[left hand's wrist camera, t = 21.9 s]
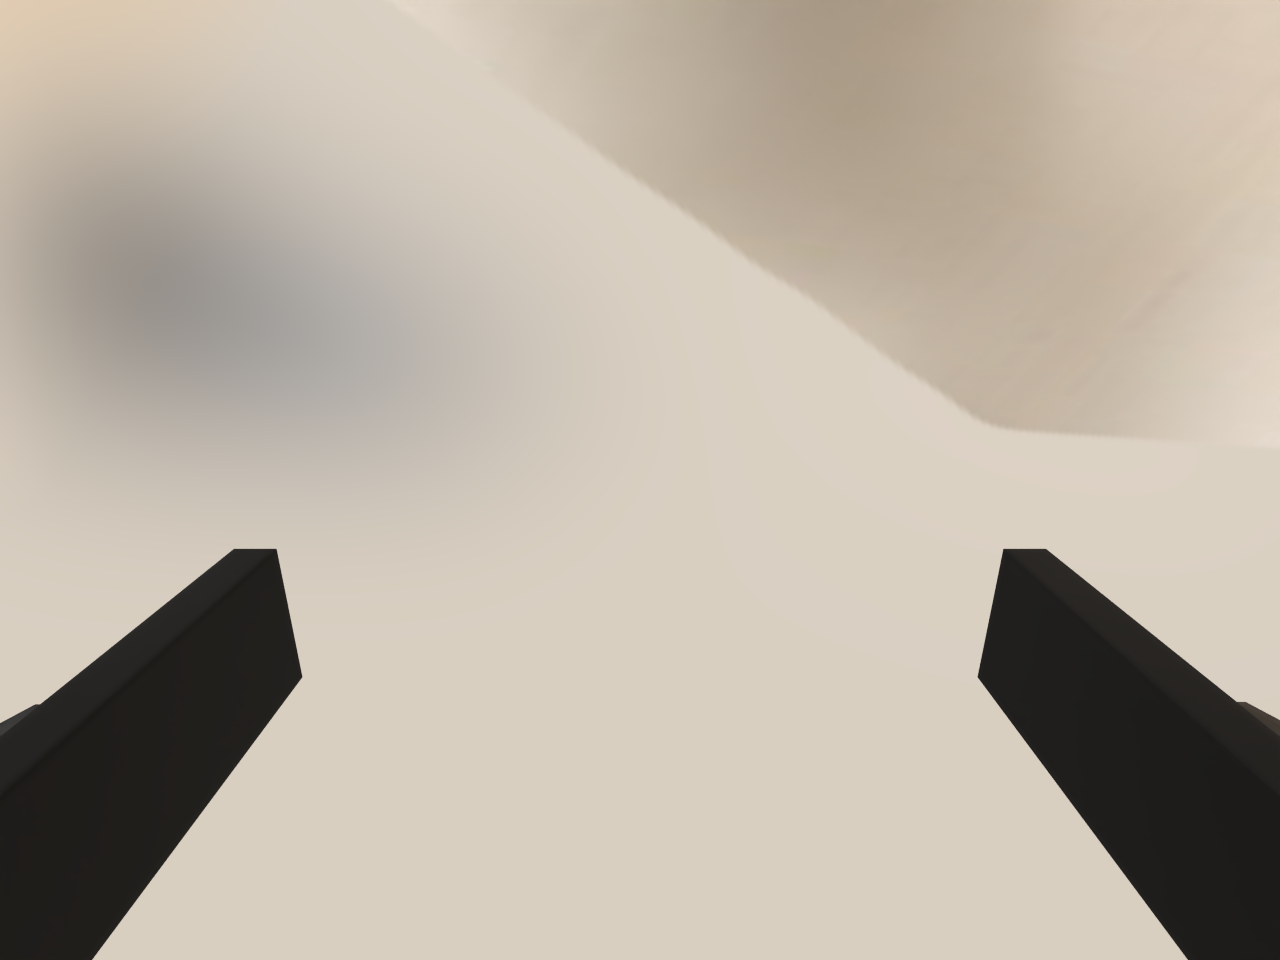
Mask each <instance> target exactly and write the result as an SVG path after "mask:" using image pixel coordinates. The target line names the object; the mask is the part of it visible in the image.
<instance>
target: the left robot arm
mask: <svg viewBox="0 0 1280 960" xmlns="http://www.w3.org/2000/svg"><path fill="white" fill-rule="evenodd" d="M301 678H302V673H301V668H300V663H299V658H298V653H297V648H296V643H295V638H294V633H293V628H292V624H291V619H290V613H289V609H288V604H287V599H286V594H285V589H284V584H283V579H282V574H281V569H280V564H279V559H278V554H277V549H233V550H232V551H231V552H230V553H228V554H227V555H226V556H225V557H223V558H222V559H221V560H220V561H218V562H217V563H216V564H215V565H213V566H212V567H211V568H210V569H208V570H207V571H206V572H205V573H204V574H202V575H201V576H200V577H198V578H197V579H196V580H195V581H194V582H192V583H191V584H190V585H189V586H187V587H186V588H185V589H184V590H182V591H181V592H180V593H179V594H177V595H176V596H175V597H174V598H172V599H171V600H170V601H169V602H167V603H166V604H165V605H164V606H162V607H161V608H160V609H159V610H157V611H156V612H155V613H154V614H152V615H151V616H150V617H149V618H147V619H146V620H145V621H144V622H142V623H141V624H140V625H139V626H137V627H136V628H135V629H134V630H133V631H131V632H130V633H129V634H127V635H126V636H125V637H124V638H122V639H121V640H120V641H119V642H118V643H116V644H115V645H114V646H113V647H111V648H110V649H109V650H108V651H106V652H105V653H104V654H103V655H101V656H100V657H99V658H98V659H96V660H95V661H94V662H93V663H91V664H90V665H89V666H88V667H86V668H85V669H84V670H83V671H81V672H80V673H79V674H78V675H76V676H75V677H74V678H73V679H71V680H70V681H69V682H68V683H66V684H65V685H64V686H63V687H61V688H60V689H59V690H58V691H56V692H55V693H54V694H53V695H52V696H50V697H49V698H48V699H46V700H45V701H44V702H43V703H41V704H40V705H33V706H32V707H30V708H28V709H26V710H24V711H22V712H20V713H18V714H17V715H15V716H13V717H11V718H9V719H7V720H5V721H4V722H2V723H0V960H92V959H93V958H94V956H95V955H96V954H97V952H98V951H99V950H100V948H101V947H102V946H103V944H104V943H105V942H106V940H107V939H108V938H109V936H110V935H111V934H112V932H113V931H114V930H115V928H116V927H117V926H118V924H119V923H120V921H121V920H122V919H123V917H124V916H125V915H126V913H127V912H128V911H129V909H130V908H131V907H132V905H133V904H134V903H135V901H136V900H137V899H138V897H139V896H140V895H141V893H142V892H143V890H144V889H145V888H146V887H147V885H148V884H149V883H150V881H151V880H152V878H153V877H154V876H155V874H156V873H157V872H158V870H159V869H160V868H161V866H162V865H163V864H164V862H165V861H166V860H167V858H168V857H169V856H170V854H171V853H172V852H173V850H174V849H175V848H176V846H177V845H178V843H179V842H180V841H181V839H182V838H183V837H184V835H185V834H186V833H187V831H188V830H189V829H190V827H191V826H192V825H193V823H194V822H195V821H196V819H197V818H198V817H199V815H200V814H201V813H202V811H203V810H204V809H205V807H206V806H207V804H208V803H209V802H210V801H211V799H212V798H213V796H214V795H215V794H216V792H217V791H218V790H219V788H220V787H221V786H222V784H223V783H224V782H225V780H226V779H227V778H228V776H229V775H230V774H231V772H232V771H233V770H234V768H235V767H236V766H237V764H238V763H239V762H240V760H241V759H242V758H243V756H244V755H245V753H246V752H247V751H248V749H249V748H250V747H251V745H252V744H253V743H254V741H255V740H256V739H257V737H258V736H259V735H260V733H261V732H262V731H263V729H264V728H265V727H266V725H267V724H268V723H269V721H270V720H271V719H272V717H273V716H274V714H275V713H276V712H277V710H278V709H279V708H280V706H281V705H282V704H283V702H284V701H285V700H286V698H287V697H288V696H289V694H290V693H291V692H292V690H293V689H294V688H295V686H296V685H297V684H298V682H299V681H300V679H301ZM978 678H979V680H980V681H981V682H982V684H983V685H984V686H985V688H986V689H987V690H988V692H989V693H990V694H991V696H992V697H993V698H994V700H995V701H996V702H997V704H998V705H999V706H1000V708H1001V709H1002V710H1003V712H1004V713H1005V714H1006V716H1007V717H1008V719H1009V720H1010V721H1011V723H1012V724H1013V725H1014V726H1015V728H1016V729H1017V731H1018V732H1019V733H1020V735H1021V736H1022V737H1023V739H1024V740H1025V741H1026V743H1027V744H1028V745H1029V747H1030V748H1031V749H1032V751H1033V752H1034V753H1035V755H1036V756H1037V757H1038V759H1039V760H1040V761H1041V763H1042V764H1043V765H1044V767H1045V768H1046V770H1047V771H1048V772H1049V774H1050V775H1051V776H1052V778H1053V779H1054V780H1055V782H1056V783H1057V784H1058V786H1059V787H1060V788H1061V790H1062V791H1063V792H1064V794H1065V795H1066V796H1067V798H1068V799H1069V800H1070V802H1071V803H1072V805H1073V806H1074V807H1075V809H1076V810H1077V811H1078V813H1079V814H1080V815H1081V817H1082V818H1083V819H1084V821H1085V822H1086V823H1087V825H1088V826H1089V827H1090V829H1091V830H1092V831H1093V833H1094V834H1095V835H1096V837H1097V838H1098V839H1099V841H1100V842H1101V844H1102V845H1103V846H1104V848H1105V849H1106V850H1107V852H1108V853H1109V854H1110V856H1111V857H1112V858H1113V860H1114V861H1115V862H1116V864H1117V865H1118V866H1119V868H1120V869H1121V870H1122V872H1123V873H1124V874H1125V876H1126V877H1127V878H1128V880H1129V881H1130V883H1131V884H1132V885H1133V887H1134V888H1135V889H1136V890H1137V892H1138V893H1139V895H1140V896H1141V897H1142V899H1143V900H1144V901H1145V903H1146V904H1147V905H1148V907H1149V908H1150V909H1151V911H1152V912H1153V913H1154V915H1155V916H1156V917H1157V919H1158V920H1159V921H1160V923H1161V924H1162V926H1163V927H1164V928H1165V930H1166V931H1167V932H1168V934H1169V935H1170V936H1171V938H1172V939H1173V940H1174V942H1175V943H1176V944H1177V946H1178V947H1179V948H1180V950H1181V951H1182V952H1183V954H1184V955H1185V956H1186V958H1187V959H1188V960H1280V720H1278V719H1277V718H1275V717H1273V716H1271V715H1269V714H1267V713H1265V712H1263V711H1262V710H1260V709H1258V708H1256V707H1254V706H1252V705H1250V704H1248V703H1246V702H1236V701H1235V700H1234V699H1232V698H1231V697H1230V696H1229V695H1227V694H1226V693H1225V692H1223V691H1222V690H1221V689H1220V688H1218V687H1217V686H1216V685H1215V684H1214V683H1212V682H1211V681H1210V680H1209V679H1207V678H1206V677H1205V676H1204V675H1202V674H1201V673H1200V672H1199V671H1197V670H1196V669H1195V668H1194V667H1192V666H1191V665H1190V664H1189V663H1187V662H1186V661H1185V660H1184V659H1182V658H1181V657H1180V656H1179V655H1177V654H1176V653H1175V652H1174V651H1172V650H1171V649H1170V648H1169V647H1167V646H1166V645H1165V644H1164V643H1163V642H1161V641H1160V640H1159V639H1158V638H1156V637H1155V636H1154V635H1153V634H1151V633H1150V632H1149V631H1148V630H1146V629H1145V628H1144V627H1143V626H1141V625H1140V624H1139V623H1138V622H1136V621H1135V620H1134V619H1133V618H1131V617H1130V616H1129V615H1127V614H1126V613H1125V612H1124V611H1123V610H1121V609H1120V608H1119V607H1118V606H1116V605H1115V604H1114V603H1113V602H1111V601H1110V600H1109V599H1108V598H1106V597H1105V596H1104V595H1103V594H1101V593H1100V592H1099V591H1098V590H1096V589H1095V588H1094V587H1093V586H1091V585H1090V584H1089V583H1088V582H1086V581H1085V580H1084V579H1083V578H1082V577H1080V576H1079V575H1078V574H1076V573H1075V572H1074V571H1073V570H1072V569H1070V568H1069V567H1068V566H1067V565H1065V564H1064V563H1063V562H1062V561H1060V560H1059V559H1058V558H1057V557H1055V556H1054V555H1053V554H1052V553H1050V552H1049V551H1048V550H1047V549H1003V554H1002V559H1001V564H1000V569H999V574H998V579H997V584H996V589H995V594H994V599H993V604H992V609H991V614H990V618H989V623H988V628H987V633H986V638H985V643H984V648H983V653H982V658H981V663H980V668H979V673H978Z"/></svg>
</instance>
